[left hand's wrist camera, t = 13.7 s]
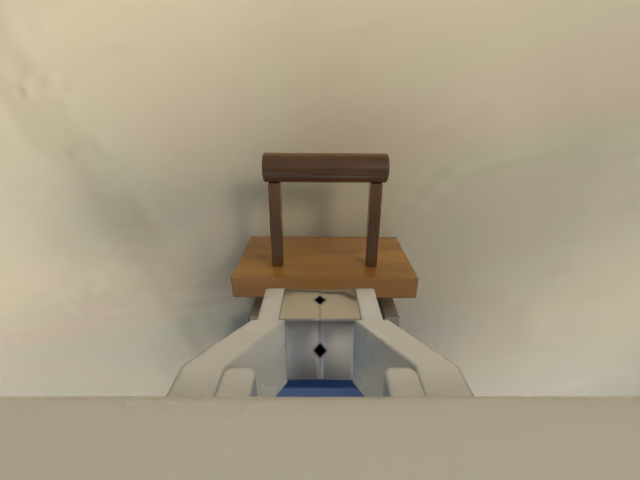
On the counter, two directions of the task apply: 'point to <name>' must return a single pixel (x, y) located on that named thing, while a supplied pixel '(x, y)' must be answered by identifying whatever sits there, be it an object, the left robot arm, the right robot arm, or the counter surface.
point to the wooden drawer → (325, 238)
